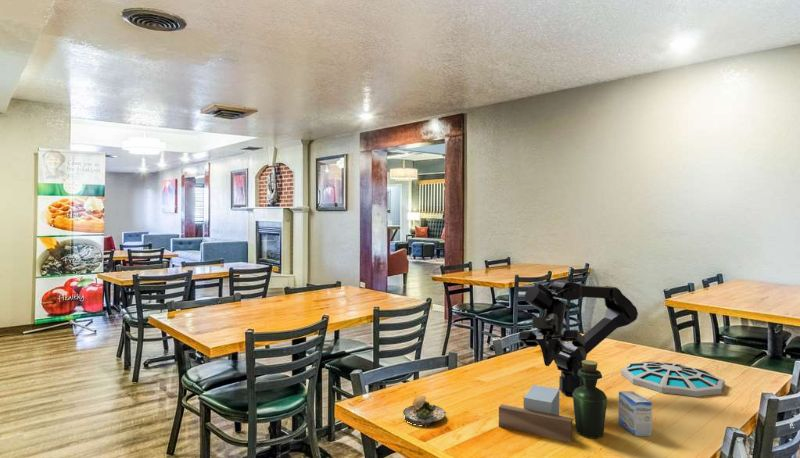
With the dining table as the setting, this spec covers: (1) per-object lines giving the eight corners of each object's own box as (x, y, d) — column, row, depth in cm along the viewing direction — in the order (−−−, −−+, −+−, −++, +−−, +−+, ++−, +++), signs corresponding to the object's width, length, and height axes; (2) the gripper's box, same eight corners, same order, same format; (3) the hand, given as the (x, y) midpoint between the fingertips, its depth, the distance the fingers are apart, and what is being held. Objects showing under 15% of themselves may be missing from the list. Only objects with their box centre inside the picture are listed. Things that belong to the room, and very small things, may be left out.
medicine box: (617, 423, 122) (617, 390, 122) (633, 422, 122) (633, 390, 122) (635, 436, 114) (635, 402, 114) (652, 436, 115) (652, 401, 114)
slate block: (533, 412, 129) (533, 384, 129) (559, 418, 126) (559, 389, 125) (523, 427, 119) (523, 397, 119) (551, 434, 116) (551, 402, 116)
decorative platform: (624, 389, 148) (624, 374, 148) (618, 364, 175) (618, 351, 175) (738, 403, 136) (738, 387, 136) (713, 374, 163) (713, 360, 163)
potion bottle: (579, 440, 112) (580, 367, 112) (567, 425, 121) (567, 357, 120) (612, 440, 112) (613, 367, 112) (598, 425, 121) (598, 357, 120)
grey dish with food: (433, 431, 118) (433, 403, 117) (394, 421, 124) (394, 394, 124) (453, 415, 128) (453, 388, 128) (416, 406, 134) (416, 381, 134)
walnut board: (501, 422, 122) (501, 404, 122) (572, 438, 113) (572, 418, 113) (498, 426, 120) (498, 407, 120) (570, 442, 111) (570, 421, 111)
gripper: (513, 306, 142) (504, 352, 134) (571, 302, 130) (565, 353, 122) (531, 323, 148) (523, 369, 140) (588, 321, 135) (583, 371, 127)
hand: (546, 365), depth 132 cm, fingers closed
